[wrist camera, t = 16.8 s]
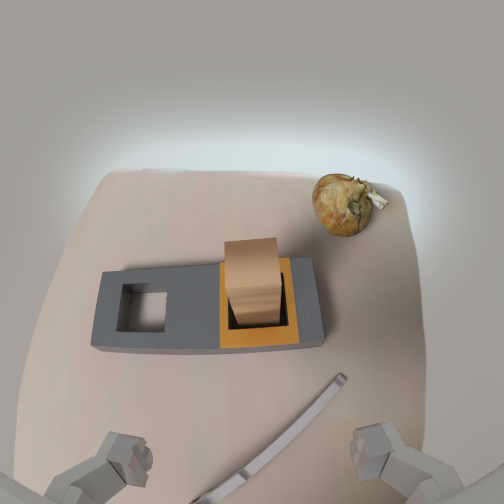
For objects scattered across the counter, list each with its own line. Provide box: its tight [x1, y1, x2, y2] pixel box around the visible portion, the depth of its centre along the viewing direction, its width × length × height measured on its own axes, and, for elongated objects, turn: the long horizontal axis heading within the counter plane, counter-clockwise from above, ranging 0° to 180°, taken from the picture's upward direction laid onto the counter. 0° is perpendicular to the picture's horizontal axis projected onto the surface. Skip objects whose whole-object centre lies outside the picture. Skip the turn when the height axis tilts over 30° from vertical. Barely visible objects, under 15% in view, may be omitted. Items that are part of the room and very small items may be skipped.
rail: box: [91, 257, 325, 355], centre depth 28 cm, size 9×24×3 cm, turn 93°
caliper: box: [189, 374, 346, 504], centre depth 19 cm, size 20×1×6 cm, turn 134°
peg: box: [225, 238, 282, 329], centre depth 25 cm, size 4×4×10 cm
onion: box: [312, 174, 388, 237], centre depth 32 cm, size 8×8×8 cm
